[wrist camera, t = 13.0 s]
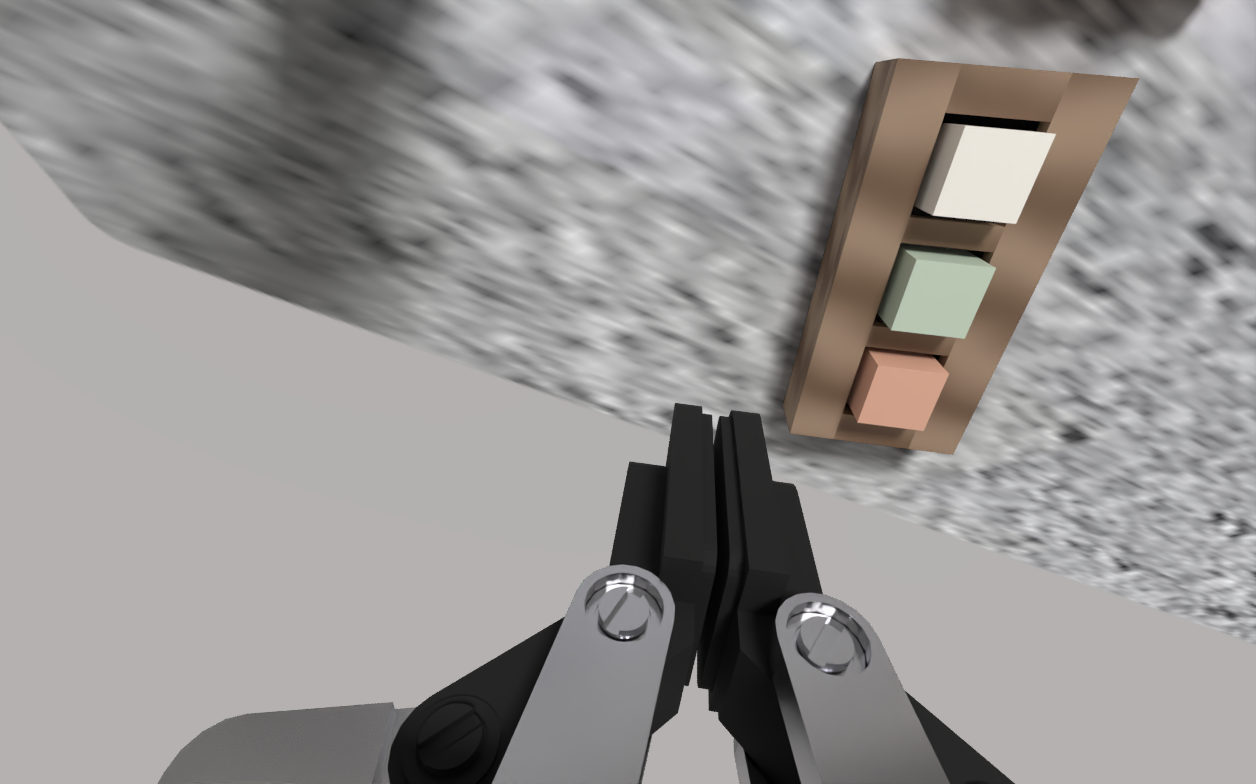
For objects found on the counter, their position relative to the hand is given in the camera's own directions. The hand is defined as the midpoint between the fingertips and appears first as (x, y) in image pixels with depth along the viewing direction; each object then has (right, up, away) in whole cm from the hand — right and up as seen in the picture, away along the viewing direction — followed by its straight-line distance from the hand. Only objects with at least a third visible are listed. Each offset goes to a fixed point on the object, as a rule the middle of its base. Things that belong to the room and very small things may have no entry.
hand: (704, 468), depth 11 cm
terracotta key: (+17, +3, +28) cm, 33 cm away
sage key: (+18, +9, +24) cm, 31 cm away
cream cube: (+18, +15, +21) cm, 31 cm away
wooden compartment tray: (+18, +10, +26) cm, 33 cm away
